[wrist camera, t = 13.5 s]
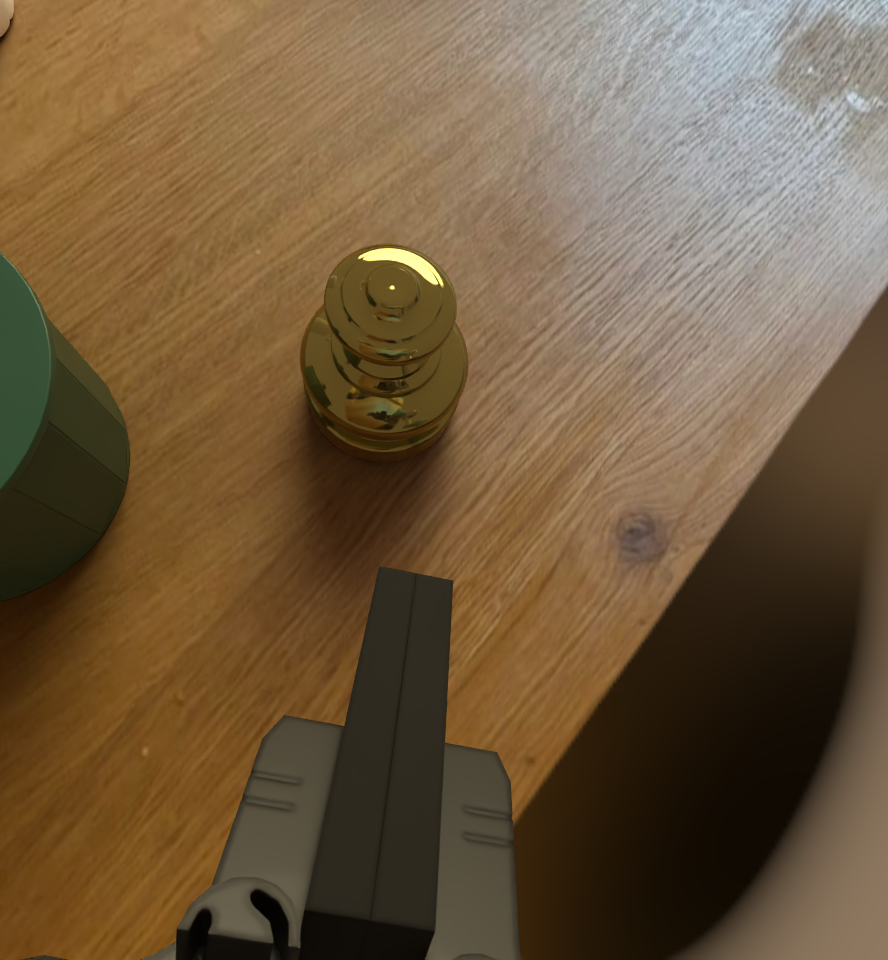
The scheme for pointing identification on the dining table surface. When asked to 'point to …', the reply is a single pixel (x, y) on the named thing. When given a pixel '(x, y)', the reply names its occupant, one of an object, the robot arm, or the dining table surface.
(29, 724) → the dining table surface
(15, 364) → the pot lid
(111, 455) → the pot
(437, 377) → the brass calibration weight
